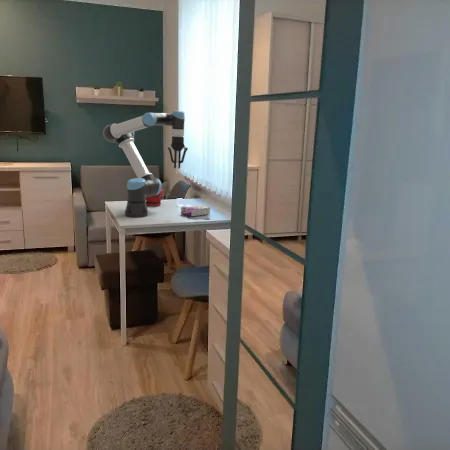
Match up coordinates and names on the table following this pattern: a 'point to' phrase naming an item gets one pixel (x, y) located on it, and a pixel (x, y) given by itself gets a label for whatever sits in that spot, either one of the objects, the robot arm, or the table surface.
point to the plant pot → (154, 199)
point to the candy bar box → (195, 210)
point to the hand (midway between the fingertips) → (176, 173)
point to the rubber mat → (199, 217)
